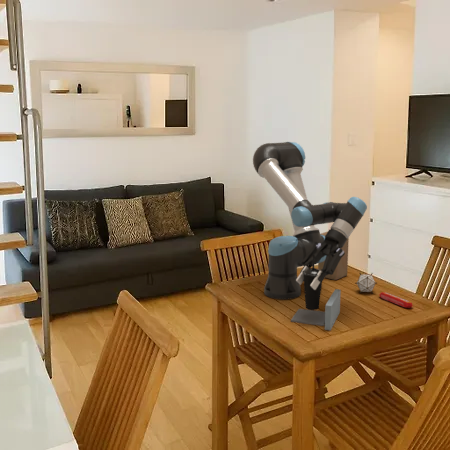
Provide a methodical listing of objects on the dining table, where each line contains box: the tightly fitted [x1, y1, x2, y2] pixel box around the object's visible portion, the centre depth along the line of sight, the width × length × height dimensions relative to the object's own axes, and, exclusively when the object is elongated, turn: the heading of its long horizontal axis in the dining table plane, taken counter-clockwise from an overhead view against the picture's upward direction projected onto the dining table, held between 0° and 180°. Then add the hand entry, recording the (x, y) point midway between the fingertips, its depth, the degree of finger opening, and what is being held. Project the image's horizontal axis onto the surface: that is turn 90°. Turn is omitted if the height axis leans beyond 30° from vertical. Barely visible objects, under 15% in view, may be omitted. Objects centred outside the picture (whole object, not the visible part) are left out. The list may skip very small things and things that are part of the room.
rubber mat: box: [290, 308, 325, 327], centre depth 206 cm, size 12×12×1 cm
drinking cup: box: [302, 255, 323, 311], centre depth 202 cm, size 8×8×20 cm
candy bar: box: [378, 291, 414, 309], centre depth 219 cm, size 16×4×3 cm, turn 30°
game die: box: [354, 272, 378, 294], centre depth 231 cm, size 9×8×10 cm
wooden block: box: [317, 231, 350, 281], centre depth 251 cm, size 10×10×20 cm
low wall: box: [324, 288, 342, 331], centre depth 202 cm, size 2×18×9 cm, turn 158°
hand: (305, 285), depth 200 cm, fingers closed on drinking cup, 7 cm apart
